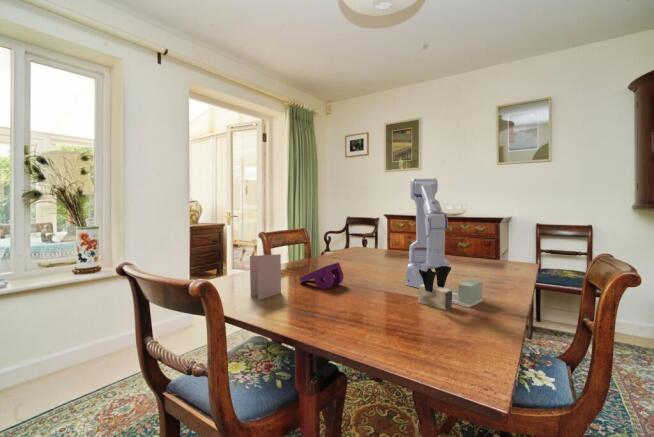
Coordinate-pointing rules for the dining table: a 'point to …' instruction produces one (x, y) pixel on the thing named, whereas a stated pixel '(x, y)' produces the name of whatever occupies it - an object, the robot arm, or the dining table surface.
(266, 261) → the greeting card
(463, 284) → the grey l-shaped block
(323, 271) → the mounting bracket
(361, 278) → the dining table surface
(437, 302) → the beige and brown block
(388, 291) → the dining table surface
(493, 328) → the dining table surface
